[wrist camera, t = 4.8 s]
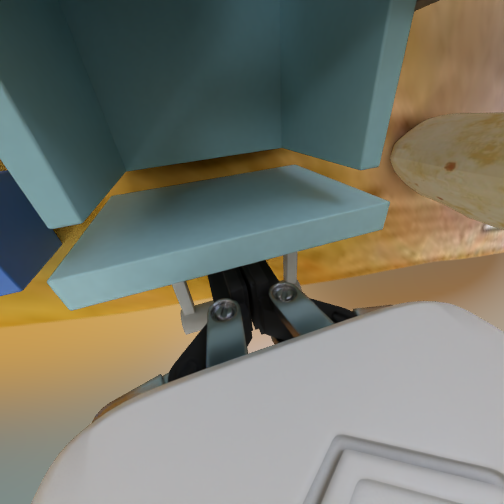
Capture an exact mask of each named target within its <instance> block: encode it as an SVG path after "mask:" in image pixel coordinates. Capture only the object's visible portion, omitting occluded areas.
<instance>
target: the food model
mask: <svg viewBox="0 0 504 504" xmlns="http://www.w3.org/2000/svg"><path fill="white" fill-rule="evenodd" d="M390 161H391V164H392V166H393V168H394V171H395V172H396V174H397V175H398V176H399V177H400V178H401V179H402V181H403V182H404V183H405V184H407V185H408V186H409V187H411V188H412V189H413V190H415V191H416V192H418V193H419V194H420V195H423V196H425V197H428V198H430V199H433V200H435V201H437V202H439V203H441V204H444V205H446V206H448V207H450V208H452V209H454V210H456V211H457V212H459V213H461V214H463V215H465V216H467V217H469V218H471V219H474V220H477V221H480V222H482V223H485V224H488V225H491V226H494V227H497V228H499V229H502V230H504V112H500V113H460V114H447V115H442V116H437V117H433V118H430V119H427V120H425V121H423V122H422V123H420V124H418V125H417V126H415V127H414V128H413V129H411V130H410V131H409V132H408V133H406V134H405V135H404V136H403V137H401V138H400V139H399V140H398V141H397V142H396V143H395V144H394V147H393V150H392V153H391V158H390Z"/></svg>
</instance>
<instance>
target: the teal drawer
mask: <svg viewBox="0 0 504 504" xmlns="http://www.w3.org/2000/svg"><path fill="white" fill-rule="evenodd" d="M416 1H417V0H0V159H1V161H2V162H3V164H4V165H5V167H6V168H7V169H8V171H9V172H10V174H11V175H12V177H13V178H14V180H15V181H16V182H17V184H18V185H19V187H20V188H21V190H22V191H23V193H24V194H25V195H26V197H27V198H28V200H29V201H30V203H31V204H32V206H33V207H34V208H35V210H36V211H37V213H38V214H39V216H40V217H41V219H42V220H43V221H44V223H45V224H46V226H47V227H48V228H49V229H55V228H60V227H65V226H71V225H76V224H81V223H83V222H84V221H85V220H86V218H87V217H88V216H89V215H90V214H91V212H92V211H93V210H94V209H95V208H96V206H97V205H98V204H99V203H100V202H101V201H102V199H103V198H104V197H105V196H106V195H107V193H108V192H109V191H110V190H111V189H112V187H113V186H114V185H115V184H116V183H117V182H118V180H119V179H120V178H121V177H122V176H123V174H124V173H125V172H126V171H133V170H139V169H146V168H153V167H159V166H166V165H172V164H179V163H185V162H192V161H199V160H205V159H212V158H218V157H225V156H231V155H238V154H244V153H251V152H258V151H264V150H271V149H277V148H285V149H288V150H292V151H295V152H298V153H302V154H305V155H309V156H312V157H316V158H319V159H323V160H326V161H330V162H333V163H337V164H340V165H344V166H347V167H351V168H354V169H358V170H365V169H370V168H375V167H378V166H379V164H380V160H381V155H382V151H383V146H384V142H385V138H386V133H387V129H388V124H389V120H390V116H391V111H392V107H393V102H394V98H395V93H396V89H397V85H398V80H399V76H400V71H401V67H402V63H403V58H404V54H405V49H406V45H407V41H408V36H409V32H410V27H411V23H412V18H413V14H414V10H415V5H416ZM389 204H390V202H389V201H387V200H384V199H382V198H379V197H376V196H374V195H371V194H369V193H366V192H364V191H361V190H359V189H356V188H354V187H351V186H348V185H346V184H343V183H341V182H338V181H336V180H333V179H331V178H328V177H326V176H323V175H320V174H318V173H315V172H313V171H310V170H308V169H305V168H303V167H300V166H298V165H290V166H284V167H278V168H272V169H266V170H261V171H255V172H249V173H243V174H237V175H231V176H226V177H220V178H214V179H208V180H202V181H196V182H191V183H185V184H179V185H173V186H167V187H161V188H156V189H150V190H144V191H138V192H132V193H127V194H121V195H115V196H111V198H110V199H109V200H108V202H107V203H106V204H105V206H104V207H103V208H102V209H101V211H100V212H99V213H98V215H97V216H96V217H95V219H94V220H93V221H92V223H91V224H90V225H89V227H88V228H87V229H86V230H85V232H84V233H83V234H82V236H81V237H80V238H79V240H78V241H77V242H76V244H75V245H74V246H73V248H72V249H71V250H70V251H69V253H68V254H67V255H66V257H65V258H64V259H63V261H62V262H61V263H60V265H59V266H58V267H57V269H56V270H55V271H54V272H53V274H52V275H51V276H50V278H49V279H48V280H47V283H48V285H49V286H50V287H51V288H52V289H53V291H54V292H55V293H56V294H57V296H58V297H59V298H60V299H61V300H62V302H63V303H64V304H65V305H66V306H67V308H68V309H69V310H76V309H79V308H83V307H87V306H91V305H95V304H99V303H102V302H106V301H110V300H114V299H118V298H122V297H125V296H129V295H133V294H137V293H141V292H144V291H148V290H152V289H156V288H160V287H164V286H167V285H171V284H172V286H173V289H174V291H175V294H176V296H177V299H178V301H179V304H180V306H181V308H182V310H181V320H182V326H183V329H184V332H185V333H186V334H190V333H193V332H197V331H200V330H202V329H203V327H204V326H205V325H206V324H207V312H208V309H209V307H210V305H212V304H213V303H214V301H209V302H206V303H202V304H199V305H195V306H194V303H193V300H192V297H191V294H190V291H189V288H188V285H187V282H186V281H187V280H190V279H194V278H198V277H202V276H206V275H209V274H213V273H217V272H221V271H225V270H229V269H232V268H236V267H240V266H244V265H248V264H252V263H255V262H259V261H263V260H267V259H271V258H274V257H278V256H282V255H283V266H284V280H282V281H279V282H289V283H292V284H294V285H296V286H297V287H298V288H299V289H300V290H301V286H300V284H299V282H298V280H297V251H301V250H305V249H309V248H313V247H316V246H320V245H324V244H328V243H332V242H336V241H339V240H343V239H347V238H351V237H355V236H359V235H362V234H366V233H370V232H374V231H378V230H381V229H383V226H384V222H385V219H386V215H387V212H388V208H389ZM301 291H302V290H301Z"/></svg>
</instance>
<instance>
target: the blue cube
mask: <svg viewBox="0 0 504 504" xmlns="http://www.w3.org/2000/svg"><path fill="white" fill-rule="evenodd" d="M61 245H62V243H61V241H60V240H59V238H58V237H57V235H56V234H55V232H54V231H53V229H49V228H48V227H47V226H46V224H45V223H44V221H43V220H42V219H41V217H40V216H39V214H38V213H37V211H36V210H35V208H34V207H33V206H32V204H31V203H30V201H29V200H28V198H27V197H26V195H25V194H24V193H23V191H22V190H21V188H20V187H19V185H18V184H17V182H16V181H15V180H14V178H13V177H12V175H11V174H10V172H9V171H8V170H7V171H0V296H3V295H7V294H11V293H15V292H20V291H22V290H24V288H25V287H26V286H27V285H28V284H29V283H30V282H31V280H32V279H33V278H34V277H35V276H36V275H37V273H38V272H39V271H40V270H41V269H42V268H43V266H44V265H45V264H46V263H47V262H48V261H49V259H50V258H51V257H52V256H53V255H54V254H55V252H56V251H57V250H58V249H59V248H60V247H61Z"/></svg>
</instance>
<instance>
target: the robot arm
mask: <svg viewBox="0 0 504 504" xmlns="http://www.w3.org/2000/svg"><path fill="white" fill-rule="evenodd" d="M208 279H209V283H210V288H211V292H212V297H213V301H214V303H213V304H212V305H210V307H209V309H208V312H207V324H206V325H205V326H204V327H203V329H202V330H201V331H200V333H199V334H198V335H197V336H196V338H195V339H194V340H193V341H192V342H191V344H190V345H189V346H188V347H187V349H186V350H185V351H184V352H183V354H182V355H181V356H180V357H179V359H178V360H177V361H176V362H175V364H174V365H173V366H172V368H171V370H170V372H169V373H167V374H165V375H164V376H162V375H161V374H160V375H158V376H156V377H155V378H153V379H151V380H149V381H147V382H146V383H144V384H142V385H140V386H139V387H137V388H135V389H133V390H131V391H130V392H128V393H126V394H124V395H123V396H121V397H119V398H117V399H115V400H114V401H112V402H110V403H109V404H107V405H106V406H105V407H103V408H102V409H101V410H100V411H99V412H98V414H97V415H96V416H95V418H94V420H93V421H92V423H91V424H90V425H89V426H87V427H86V428H85V429H84V430H82V431H81V432H80V433H79V434H78V435H77V436H76V437H75V438H73V439H72V440H71V441H70V442H69V443H68V444H67V445H66V447H65V448H64V449H63V450H62V451H61V452H60V453H59V455H58V456H57V458H56V459H55V460H54V462H53V463H52V465H51V466H50V468H49V470H48V471H47V473H46V475H45V477H44V478H43V480H42V482H41V484H40V486H39V488H38V490H37V493H36V494H35V497H34V499H33V501H32V503H31V504H504V332H503V331H501V330H500V329H498V328H496V327H495V326H493V325H492V324H490V323H488V322H486V321H485V320H483V319H482V318H480V317H478V316H476V315H474V314H473V313H471V312H469V311H467V310H465V309H463V308H461V307H458V306H456V305H452V304H449V303H444V302H436V301H435V302H434V301H417V302H407V303H402V304H396V305H386V306H376V307H367V308H357V309H353V311H350V310H347V309H345V308H342V307H339V306H335V305H331V304H328V303H324V302H321V301H317V300H314V299H310V298H308V297H307V296H306V295H305V294H304V293H303V292H302V291H301V290H300V289H299V288H298V287H297V286H296V285H294V284H292V283H289V282H279V281H278V279H277V278H276V276H275V275H274V273H273V271H272V270H271V268H270V267H269V265H268V264H267V262H266V261H265V260H263V261H259V262H255V263H252V264H248V265H244V266H240V267H236V268H232V269H229V270H225V271H221V272H217V273H213V274H209V275H208ZM251 319H252V320H251ZM252 322H253V325H254V326H255V329H259V330H260V332H261V334H267V335H270V336H271V338H272V341H273V342H274V344H275V345H272V346H269V347H266V348H264V349H261V350H258V351H255V352H252V353H249V354H248V350H247V346H248V344H249V343H250V341H251V339H252V332H251V331H253V328H252Z"/></svg>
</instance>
